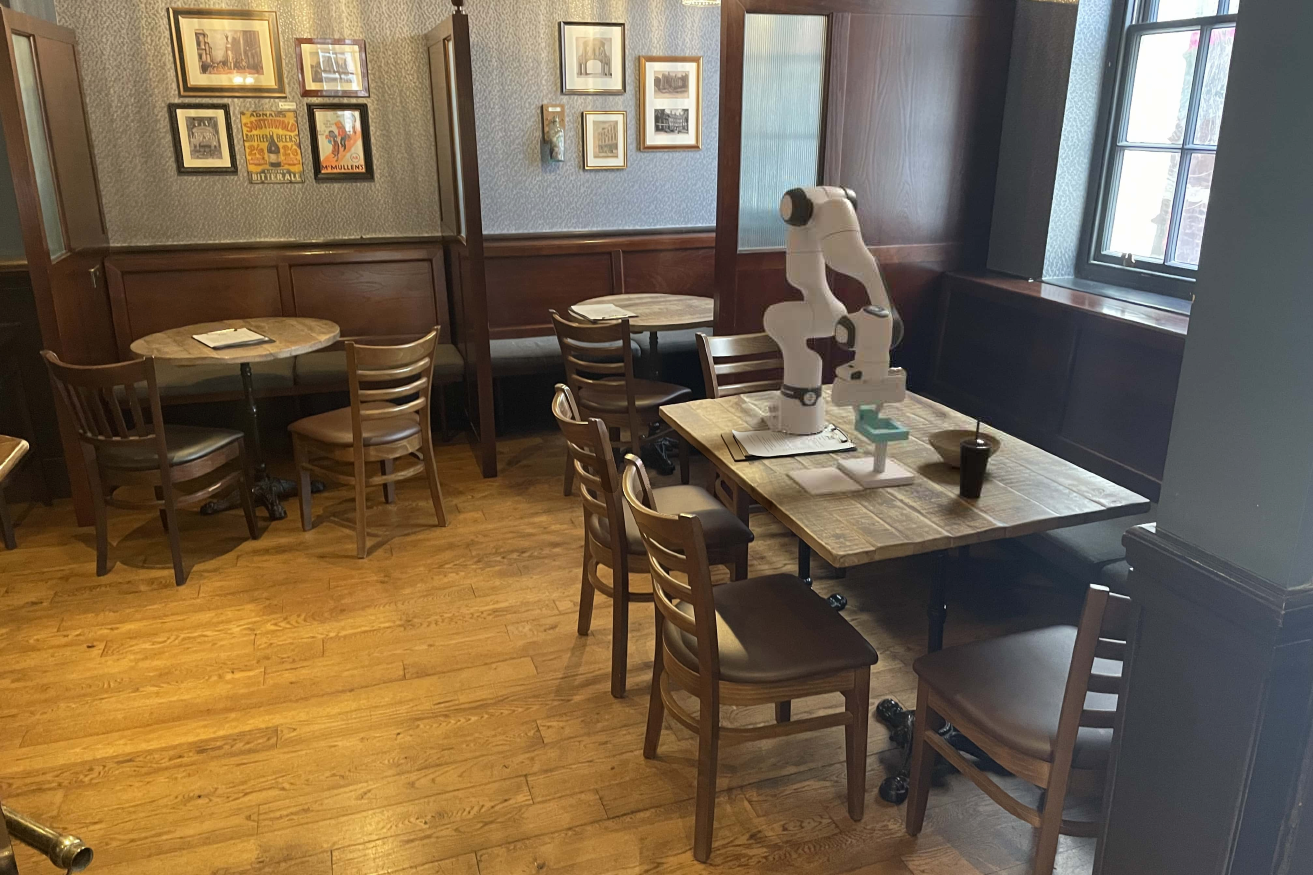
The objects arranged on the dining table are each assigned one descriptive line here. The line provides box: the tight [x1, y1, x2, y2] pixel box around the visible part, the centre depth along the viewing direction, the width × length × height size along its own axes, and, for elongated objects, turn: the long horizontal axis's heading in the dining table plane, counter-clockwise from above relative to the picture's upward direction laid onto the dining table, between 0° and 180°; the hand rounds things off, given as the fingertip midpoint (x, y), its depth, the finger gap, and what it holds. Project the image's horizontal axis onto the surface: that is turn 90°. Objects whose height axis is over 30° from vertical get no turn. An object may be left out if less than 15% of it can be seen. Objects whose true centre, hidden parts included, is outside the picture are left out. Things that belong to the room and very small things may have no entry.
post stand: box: [836, 442, 916, 489], centre depth 240 cm, size 16×14×12 cm
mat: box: [786, 466, 864, 496], centre depth 237 cm, size 16×14×1 cm
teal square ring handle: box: [854, 405, 910, 444], centre depth 239 cm, size 16×10×4 cm, turn 16°
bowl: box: [927, 428, 1002, 469], centre depth 247 cm, size 18×18×8 cm
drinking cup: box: [959, 417, 993, 500], centre depth 225 cm, size 8×8×20 cm
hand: (866, 420), depth 243 cm, fingers closed on teal square ring handle, 3 cm apart
